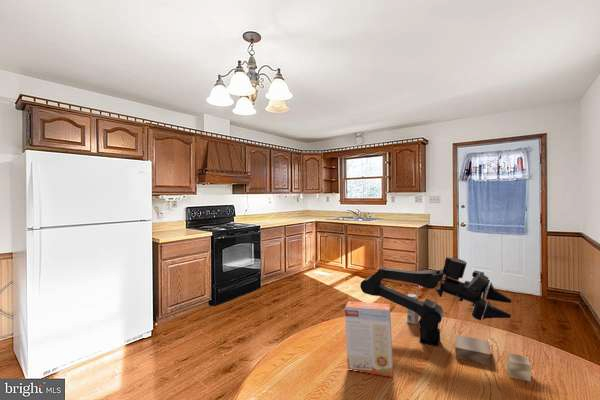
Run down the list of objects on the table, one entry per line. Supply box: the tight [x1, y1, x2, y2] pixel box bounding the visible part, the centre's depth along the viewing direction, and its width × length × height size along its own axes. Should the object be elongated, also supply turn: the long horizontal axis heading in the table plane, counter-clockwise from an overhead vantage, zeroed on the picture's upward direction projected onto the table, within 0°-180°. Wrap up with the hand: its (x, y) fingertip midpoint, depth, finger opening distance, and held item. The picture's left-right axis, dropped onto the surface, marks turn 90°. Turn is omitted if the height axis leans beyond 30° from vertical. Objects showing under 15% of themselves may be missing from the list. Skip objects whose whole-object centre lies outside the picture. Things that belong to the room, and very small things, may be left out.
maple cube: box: [506, 352, 532, 383], centre depth 87 cm, size 5×5×5 cm
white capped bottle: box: [406, 293, 420, 325], centre depth 126 cm, size 5×5×12 cm
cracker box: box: [344, 300, 394, 378], centre depth 93 cm, size 14×6×21 cm, turn 71°
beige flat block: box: [454, 334, 492, 366], centre depth 99 cm, size 10×10×4 cm
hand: (510, 308), depth 96 cm, fingers open, 9 cm apart
